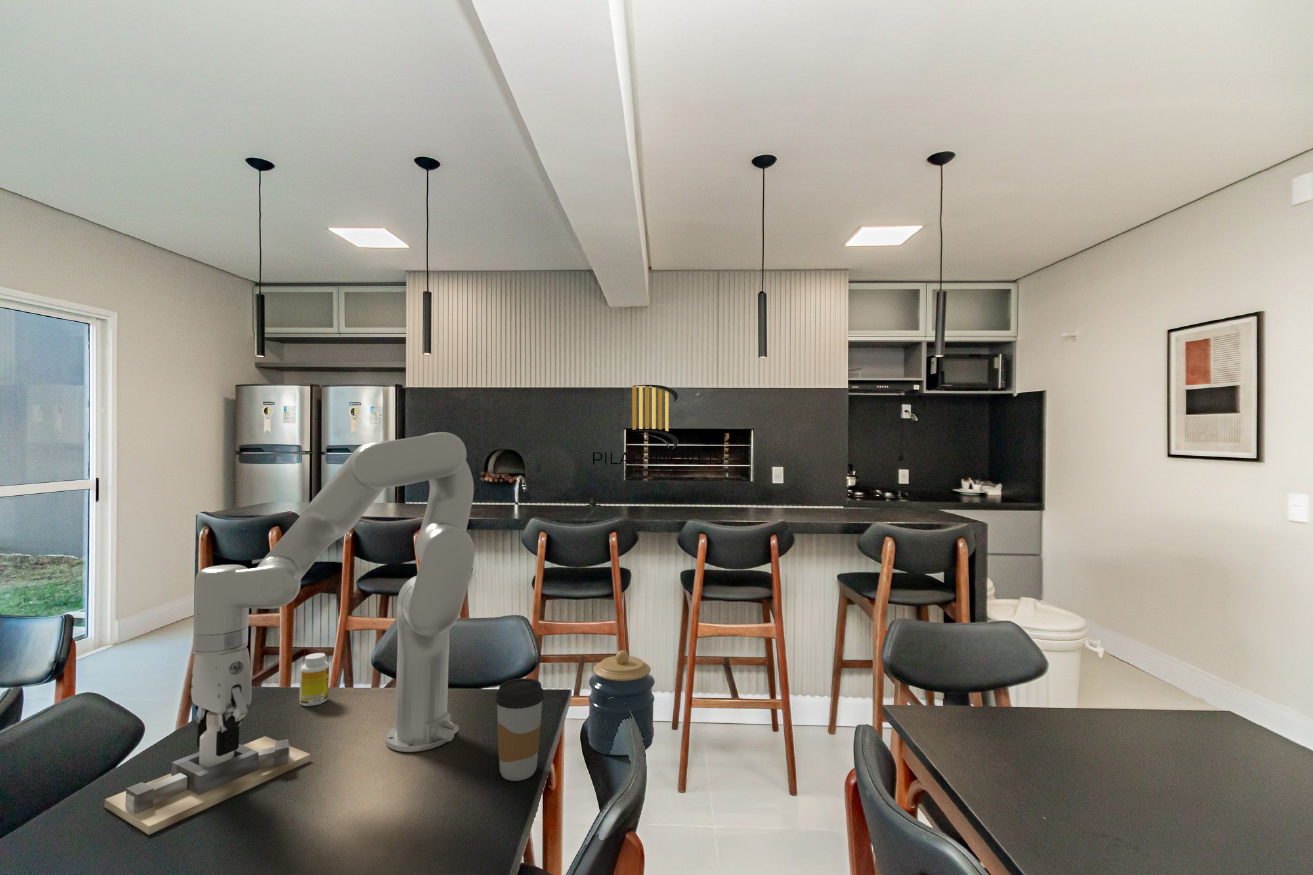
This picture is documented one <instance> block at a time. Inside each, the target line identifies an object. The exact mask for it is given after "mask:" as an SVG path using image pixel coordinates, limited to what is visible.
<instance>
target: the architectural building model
mask: <svg viewBox="0 0 1313 875" xmlns="http://www.w3.org/2000/svg"><path fill="white" fill-rule="evenodd" d="M308 762H311V753H308V752H306V751H304V750H301V749H298V748H295V747H293V746H290V743H289V738H286V739H281V740H276V739H273V738H271V737H268V736H266V735H264V736H262V737H259V738H257V739H255V740H253V741H250V742H248V743H244V744H241V743H239V747H238V749H237V750H234V758H232V759H229V760H227V761H224V762H222V763H219V764H217V765H214V766H212V767H210V768H207V769H205V768H203V767H201V766H199V751H197V752H195V753H194V752H193V753H192V754H190V755H187V756H184V757H182V758H180V759H179V758H178V759H176V760H174V761H171V770H170V771H171V772H170V773H168V774H166V775H163V776H161V777H158V778H155V779H153V780H150V781H148V782H146V783H145V782H143V781H141V782H138V783H136V784H133V785H130V786H129V787H126V788H125V791H122V792H120V793H117V794H115V795H112V796H110V797H107V798H105V799H104V804H103V805H104V808H105V809H106V810H108V811H110V812H111V813H112V814H114V815H116V816H118V817H119V818H121V819H123V821H126V822H127V823H129V824H130V825H132V826H134V827H136V829H139V830H140V831H141V832H142V833H145V834H147V835H148V836H149V835H151V834H154V833H156V832H158V831H161V830H163V829H165V828H167V827H170V826H171V825H174V824H176V823H177V822H180V821H183V820H184V819H187V818H188V817H191V816H193V815H195V814H197V813H199V812H202V811H205V810H206V809H209V808H211V807H212V806H215V805H218V804H220V803H221V802H224V801H225V800H228V799H230V798H232V797H234V796H236V795H239V794H242V793H244V792H245V791H247V790H250V789H252V788H254V787H256V786H258V785H261V784H263V783H266V782H267V781H269V780H272V779H274V778H277V777H278V776H280V775H283V774H285V773H286V772H289V771H291V770H294V769H295V768H298V767H300V766H302V765H304V764H307V763H308Z"/></svg>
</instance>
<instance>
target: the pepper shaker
mask: <svg viewBox="0 0 1313 875" xmlns="http://www.w3.org/2000/svg"><path fill="white" fill-rule="evenodd" d="M226 709H230V708H229V707H228V706H226ZM230 716H231V713H228V714H226V715H225V717H226V721H227V719H228V718H229V717H230ZM206 721H207V722H206V725H207V730H206V731H205V732H204V733H203V734H202V735H201V737H200V748H199V751H198V752H199V766H201V767H203V768H205V769H207V768H210V767H212V766H214V765H217V764H219V763H222V762H224V761H227V760H229V759H232V758H234V751H232V752H229V753H227V754H224V755H222V756H217V755H216V737H217V732H218V731H220V729H219V721H218V713H215V712H212V711H209V712H208V713H207V719H206Z"/></svg>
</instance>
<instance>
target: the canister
mask: <svg viewBox="0 0 1313 875" xmlns="http://www.w3.org/2000/svg"><path fill="white" fill-rule="evenodd" d="M651 670H652V669H651V666H650V665H649V664H648V663H646V662H645V661H643V660H642V659H641V658H640V657H636V656H632V655H629V653H628V652H627V650H623V649H622V650H618V651H617V653H616V655H613V656H609V657H605V658H603V659H602V660H601V661H600V662H598V663H596V664H595V665H594V666H593V670H592V671H593V673H594V674H592V675H591V676H590V678H589V680H588V684H589V687H590V688H591V690H590V694H589V696H588V704H589V705H588V706H589V707H588V727H587V737H588V744H589V746H590V747H591V748H592V749H593V750H594V751H596V752H598V753H599V754H603V755H606V756H610V751H611V750H612V746H613V744H614V743H613V742H614V738H615V736H616V733H617V732H618V727H619V726H620V723H622V720H624V719H625V720H626V719H629V718H630V717H631V719H632V716H631V713H632V715H633V717H634V719H635V721H636V723H637V726H638V728H639V731H640V732H641V736H642V738H643V743H644V746H645V751H646V750H647V749H649V748H650V747H651V746H652V744H653V739H654V734H655V732H654V731H655V727H654V702H655V696H654V693H653V687H654V685H655V683H656V681H655V678H654V677H653V675H652V674H650V673H651ZM610 697H614V698H610ZM608 698H610V699H608ZM625 703H626V704H625ZM630 710H631V713H630ZM593 712H594V713H593ZM592 713H593V715H592V716H591V714H592ZM589 716H591V717H590V718H589Z"/></svg>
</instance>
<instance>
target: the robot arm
mask: <svg viewBox="0 0 1313 875" xmlns="http://www.w3.org/2000/svg"><path fill="white" fill-rule="evenodd" d="M426 481H428V482H429V494H428V500H427V505H426V508H425V513H424V516H423V519H422V522H421V526H420V529H419V532H418V536H417V538H416V541H415V542H416V543H415V547H414V549H415V556H416V557H417V560H418V561H419V562H420V563H419V566H418V570H417V573H416V575H415V576H413V577H411V578H410V579H408V580H406V582H405V583H404V584H403V585H402V587H401V588H400V590H399V593H398V595H397V599H396V600H397V601H396V621H397V653H396V654H397V656H396V658H397V659H396V680H395V681H396V687H395V692H396V693H395V717H394V718H395V719H394V720H395V721H394V722H395V724H394V727H392V728H391V729H390V730H389V731H388V732H387V734H386V735H385V744H386V745H387V747H388V748H389V749H392V750H393V751H397V752H403V753H416V752H424V751H428V750H433V749H434V748H437V747H440V746H443V745H445V744H446V743H447V742H451V741H452V740H453V739H454V737H455V734H456V733H457V732H458V731H459V728H460V727H459V725H457V724H456V723H455V724H454V722H452V721H451V713H449V712H448V698H449V697H448V693H449V691H448V690H449V687H448V686H449V656H450V629H451V628H453V626H455V624H456V623H457V622H458V621H457V620H458V619H459V616H460V615H461V611H462V608H463V605H464V602H465V597H466V594H467V589H468V585H469V582H470V579H471V575H472V571H473V567H474V562H475V545H474V541H473V539H472V537H471V536H470V534H469V533H468V532H467V528H468V525H469V520H470V516H471V510H472V504H473V500H474V492H475V491H474V490H475V488H474V487H475V486H474V479H473V474H472V472H471V468H470V466H469V464H468V462H467V448H466V445H465V444H464V441H463V440H462V439H461V438H460V437H459V436H457V435H456V434H455V433H451V432H445V431H439V432H430V433H427V434H423V435H418V436H412V437H407V438H400V439H399V438H398V439H393V440H385V441H372V442H366V443H364V444H362V445H360V446H358V447H357V448H356V449H355V450H354V451H353V452H352V454H350V455H349V457H348V458H347V459H346V461H344V463H343V464H342V465H341V466H340V467H339V469H338V470H337V471H336V472H335V473H334V475H333V476H332V477H331V478H330V479H329V480H328V481H327V483H326V484H325V485H324V486H323V487H322V489H320V491H319V492H318V493H317V494H316V495H315V497H314V498H313V499H312V500H311V501H310V502H309V503H308V505H307V506H306V507H305V508H304V510H303V511H302V513H301V514H300V515H299V517H298V518H297V519H296V520H295V521H294V523H293V524H292V525H291V527H289V528H288V530H287V531H286V532H285V533H284V534H283V536H282V537H281V538H280V539H279V540H278V541H277V543H276V544H274V546H273V547H272V548H271V550H270V551H269V552H268V553H267V554H266V555H265V557H264V558H263V559H262V560H261V561H260V562H259V563H258V565H257V566H256V567H253V568H248V567H246V566H244V565H241V564H220V565H213V566H209V567H205V568H203V569H200V570H199V571H198V572H197V574H196V575H195V580H194V583H195V584H194V605H193V606H194V610H193V612H194V613H193V639H192V640H193V641H192V643H193V644H192V654H193V655H194V658H193V665H192V673H191V689H190V690H191V701H192V702H191V703H193V704H194V706H195V710H196V717H195V720H196V723H197V725H196V726H197V730H196V731H197V732H196V747H197V748H198V749H200V737H201V735H202V734H203V733H204V732H205V731H206V730H207V725H206V722H207V721H206V719H207V713H208V712H209V711H212V712H215V713H218V721H219V729H220V731H218V732H217V737H216V755H217V756H222V755H224V754H227V753H229V752H232V751H234V750H237V749H238V747H239V744H240V727H241V725H242V720H243V719H244V718H245V717H246V716H247V714H248V713H249V711H248V706H250V704H251V702H252V671H251V670H252V668H251V658H250V652H249V649H248V647H247V646H248V643H249V618H250V616H249V614H250V609H267V610H269V609H278V608H281V607H284V606H287V605H289V604H290V603H291V602H293V601H294V600H295V599H296V598H297V596H298V594H299V593H300V590H301V585H302V584H301V583H302V582H301V580H302V579H303V577H304V576H305V575H306V573H307V572H308V571H309V569H311V567H312V566H313V565H314V564H315V562H316V561H317V560H318V559H319V557H320V556H321V555H322V554H323V553H324V552H325V551H326V550H327V549H328V548H329V547H330V546H331V545H332V544H333V543H335V542H336V541H337V540H339V539H341V538H342V537H344V536H345V535H347V534H348V532H350V531H351V530H352V529H353V528H354V527H355V525H356V524H357V523H358V522H359V520H360V519H362V516H363V515H364V514H365V513H366V511H367V510H368V509H369V508H370V507H371V506H372V504H373V503H374V502H375V500H376V499H377V498H378V497H379V495H381V493H382V492H384V490H385V489H388V488H393V487H394V488H395V487H402V486H406V485H412V484H416V483H422V482H426ZM229 706H232V707H231V708H230V709H226V707H229ZM228 713H230V714H231V713H232V715H230V717H229V718H228V719H227V721H226V717H225V715H226V714H228Z"/></svg>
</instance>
